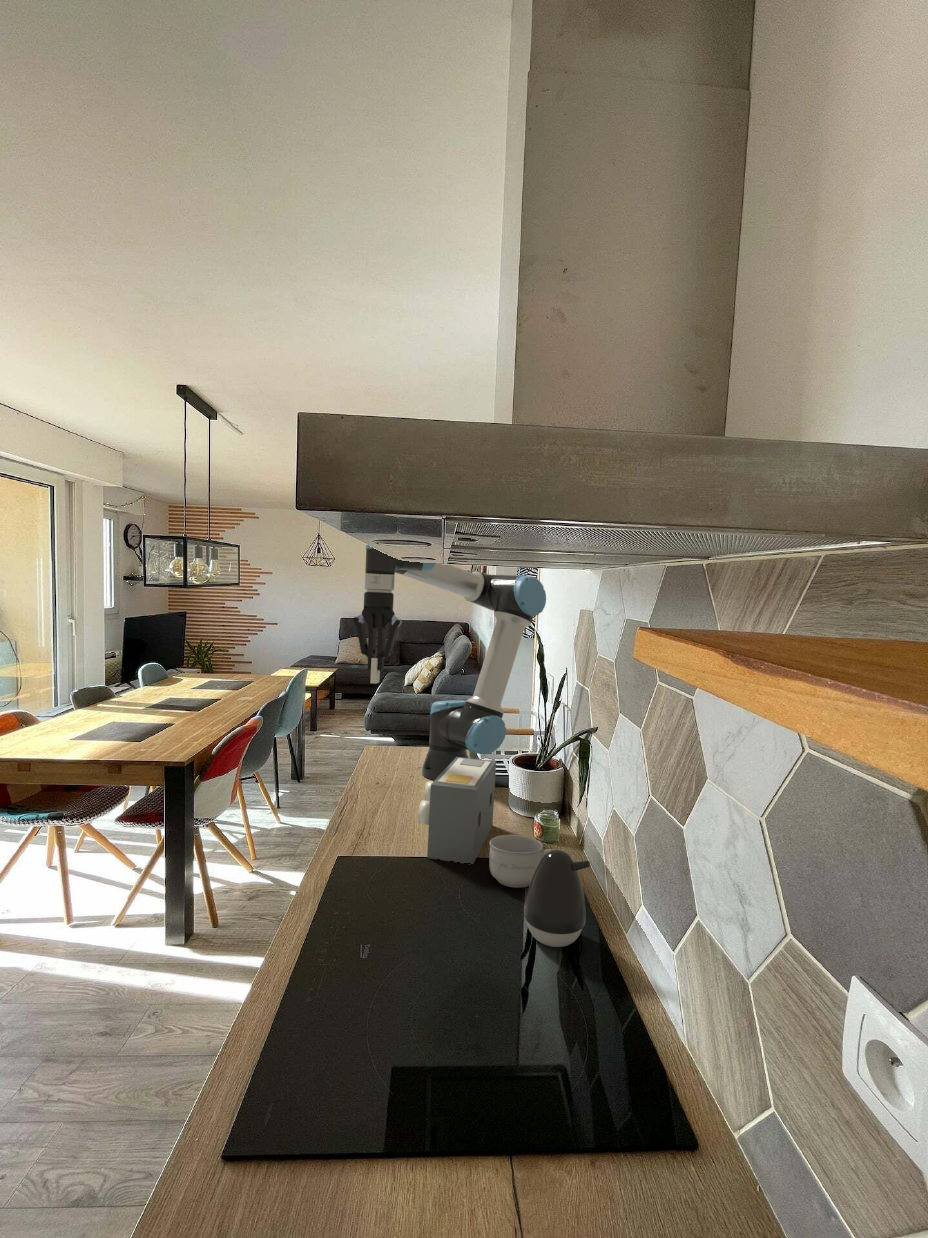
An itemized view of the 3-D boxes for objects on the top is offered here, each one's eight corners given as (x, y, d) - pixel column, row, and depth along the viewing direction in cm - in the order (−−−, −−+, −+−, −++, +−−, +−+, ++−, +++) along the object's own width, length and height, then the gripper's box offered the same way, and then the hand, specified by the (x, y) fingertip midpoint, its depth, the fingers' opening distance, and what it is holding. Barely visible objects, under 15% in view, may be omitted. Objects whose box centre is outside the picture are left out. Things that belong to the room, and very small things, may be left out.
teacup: (478, 884, 129) (480, 844, 128) (501, 865, 138) (503, 828, 138) (544, 903, 122) (547, 862, 122) (563, 882, 132) (566, 843, 131)
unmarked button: (429, 798, 161) (430, 778, 161) (458, 802, 160) (459, 782, 160) (423, 805, 157) (424, 784, 156) (454, 809, 155) (455, 788, 155)
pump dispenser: (579, 962, 103) (585, 868, 103) (516, 946, 107) (521, 856, 106) (589, 931, 113) (595, 845, 112) (531, 918, 116) (536, 834, 116)
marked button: (423, 819, 147) (424, 797, 147) (456, 823, 146) (457, 801, 145) (417, 826, 142) (418, 804, 142) (450, 831, 141) (451, 808, 140)
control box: (453, 820, 163) (456, 754, 162) (492, 825, 161) (496, 759, 160) (427, 858, 140) (431, 782, 139) (472, 864, 137) (477, 787, 137)
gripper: (349, 589, 165) (345, 682, 166) (398, 592, 162) (394, 686, 163) (360, 590, 172) (356, 678, 173) (407, 592, 169) (403, 682, 170)
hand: (374, 682), depth 168 cm, fingers closed
